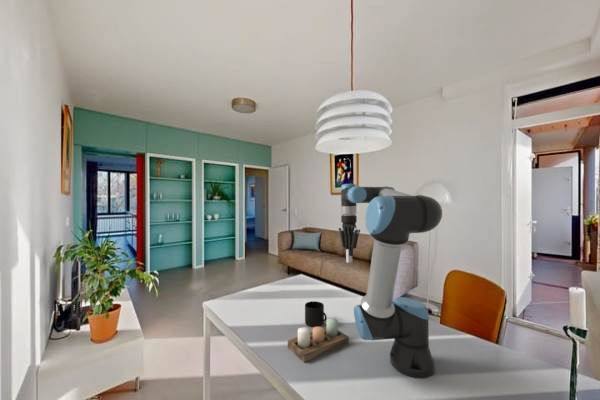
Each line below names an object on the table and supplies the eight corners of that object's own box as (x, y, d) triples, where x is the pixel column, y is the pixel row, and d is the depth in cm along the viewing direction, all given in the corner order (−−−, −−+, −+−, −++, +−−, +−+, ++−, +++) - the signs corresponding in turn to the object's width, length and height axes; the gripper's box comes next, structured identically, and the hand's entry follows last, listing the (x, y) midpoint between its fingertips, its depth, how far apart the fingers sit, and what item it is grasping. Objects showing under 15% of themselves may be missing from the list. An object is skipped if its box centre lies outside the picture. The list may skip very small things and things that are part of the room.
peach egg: (327, 344, 106) (326, 330, 106) (317, 348, 103) (317, 333, 103) (319, 339, 110) (319, 325, 110) (310, 342, 107) (310, 328, 107)
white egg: (312, 346, 102) (312, 331, 102) (302, 350, 99) (302, 334, 99) (305, 340, 106) (305, 326, 106) (295, 344, 103) (295, 329, 103)
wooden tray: (348, 343, 108) (348, 336, 108) (304, 362, 95) (304, 354, 95) (330, 331, 118) (330, 325, 118) (287, 347, 105) (287, 340, 105)
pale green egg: (340, 335, 110) (340, 321, 110) (331, 338, 107) (331, 324, 107) (332, 330, 114) (332, 317, 114) (324, 333, 111) (324, 319, 111)
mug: (320, 331, 118) (320, 311, 118) (301, 323, 126) (301, 305, 126) (331, 324, 125) (331, 305, 126) (312, 317, 133) (312, 299, 133)
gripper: (364, 215, 123) (364, 263, 123) (345, 214, 134) (345, 258, 134) (352, 215, 119) (353, 265, 119) (334, 214, 130) (334, 260, 130)
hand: (349, 262), depth 126 cm, fingers closed
